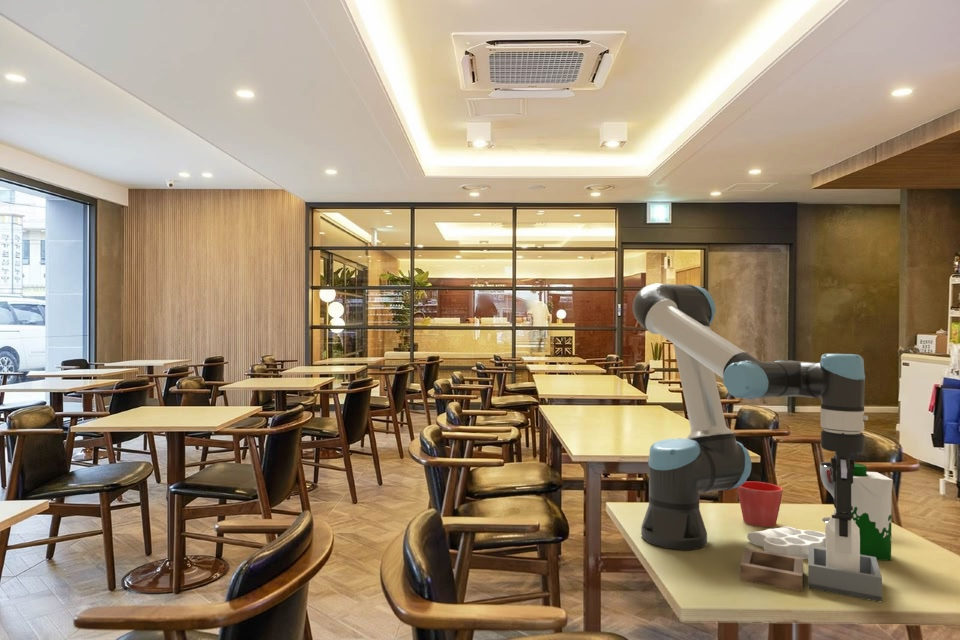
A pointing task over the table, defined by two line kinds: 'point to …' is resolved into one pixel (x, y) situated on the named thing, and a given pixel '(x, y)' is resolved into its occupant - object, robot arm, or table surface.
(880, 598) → the tray
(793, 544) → the white brass knuckles
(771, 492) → the flower pot
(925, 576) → the table surface
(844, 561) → the white tall rounded piece
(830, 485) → the wine glass
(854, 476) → the milk carton
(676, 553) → the table surface
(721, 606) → the table surface
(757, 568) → the holder
